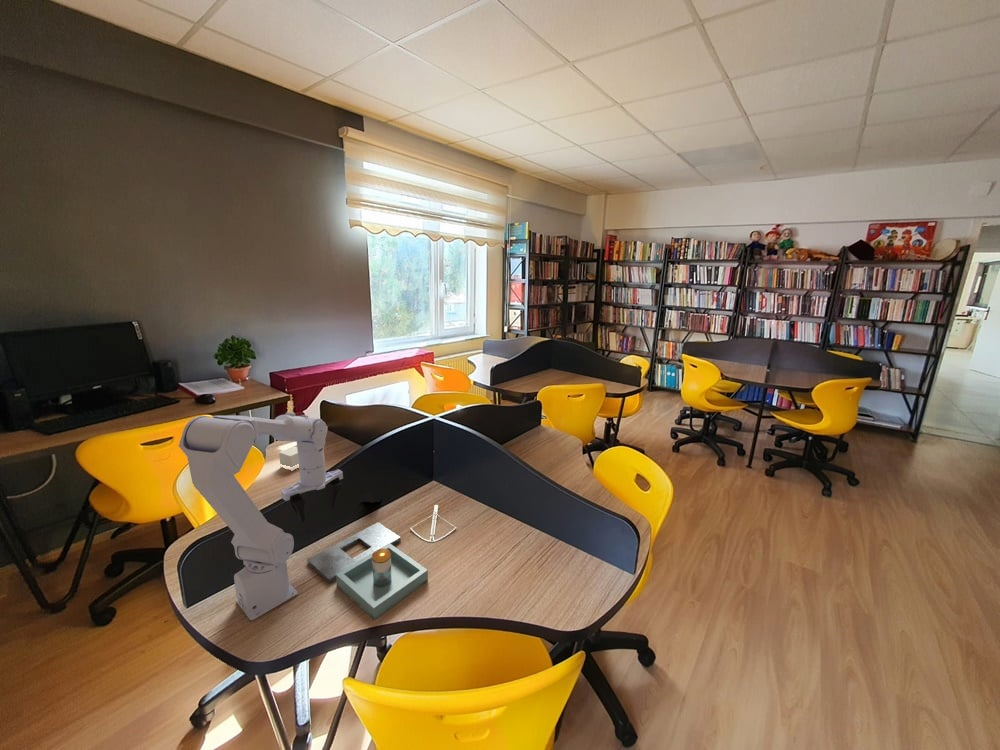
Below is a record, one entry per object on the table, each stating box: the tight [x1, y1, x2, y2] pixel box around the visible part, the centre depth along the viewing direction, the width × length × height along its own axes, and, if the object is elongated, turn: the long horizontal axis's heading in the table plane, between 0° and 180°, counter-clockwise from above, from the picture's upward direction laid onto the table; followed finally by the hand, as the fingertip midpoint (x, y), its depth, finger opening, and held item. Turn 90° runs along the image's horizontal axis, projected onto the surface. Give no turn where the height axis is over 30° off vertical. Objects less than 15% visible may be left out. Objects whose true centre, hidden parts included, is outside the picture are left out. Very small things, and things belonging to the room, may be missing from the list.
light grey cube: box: [278, 445, 299, 467], centre depth 144 cm, size 6×6×6 cm
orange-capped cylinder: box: [372, 549, 392, 587], centre depth 92 cm, size 4×4×7 cm
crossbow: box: [409, 504, 457, 543], centre depth 115 cm, size 16×13×2 cm
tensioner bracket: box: [306, 521, 402, 584], centre depth 102 cm, size 20×10×1 cm, turn 141°
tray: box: [335, 543, 429, 621], centre depth 92 cm, size 14×14×3 cm
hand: (316, 513), depth 102 cm, fingers open, 7 cm apart
